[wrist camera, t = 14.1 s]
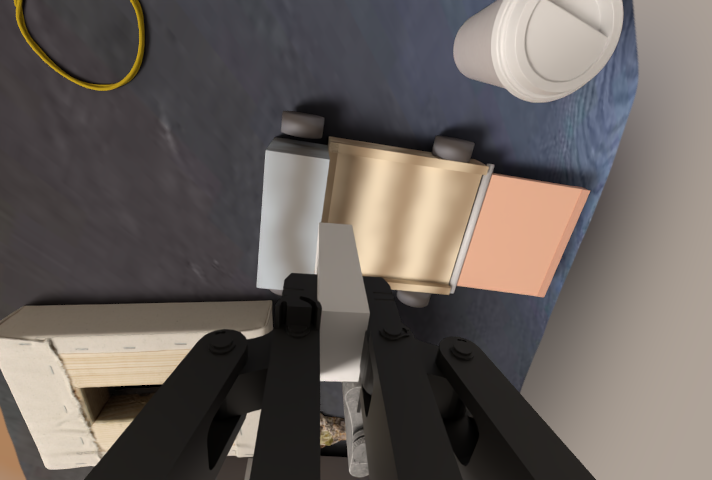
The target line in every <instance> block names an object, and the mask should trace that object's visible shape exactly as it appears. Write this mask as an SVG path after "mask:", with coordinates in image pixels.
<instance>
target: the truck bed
mask: <svg viewBox="0 0 712 480" xmlns="http://www.w3.org/2000/svg"><path fill="white" fill-rule="evenodd" d="M324 119H325V118H324V117H321V116H318V115H313V114H308V113H302V112H295V111H283V114H282V126H281V132H282V133H285V134H288V135H292V136H296V137H303V138H312V139H319V138H322V135H323V127H324ZM474 145H475V143H473V142H470V141H467V140H463V139H458V138H453V137H448V136H439V135H437V136H436V137H435V141H434V145H433V149H432V152H426V151H419V150H413V149H407V148H400V147H394V146H387V145H381V144H375V143H368V142H362V141H356V140H349V139H343V138H336V137H330V136H329V138H328V145H324V144H317V143H311V142H304V141H298V140H291V139H285V138H278V137H275V138H274V139H273V141H272V142H271V143H270V145H269V146H268V148H267V149H266V155H265V170H264V184H263V199H262V214H261V229H260V244H259V258H258V273H257V288H266V289H270V290H271V291H272V292H273V293H275V294H278V295H282V292H283V286H284V280H285V279H286V278H287V277H288V276H289V275H290V274H291V273H303V274H315V263H316V251H317V240H318V228H319V222H322V223H335V224H347V225H352V227H353V232H354V237H355V242H356V247H357V252H358V257H359V262H360V267H361V272H362V276H369V277H382V278H383V279H384V280H385V281H386V282H387V283H388V284H389V285H390V287H391V289H392V290H398V291H397V298H398V299H399V300H400V301H401V302H402V303H404V304H406V305H408V306H412V307H418V308H419V307H425V306H427V305H428V303H429V300H430V297H431V293H435V294H446V295H449V293H450V290H451V288H450V286H449V281H450V278H451V274H452V271H453V268H454V265H455V261H456V258H457V255H458V252H459V248H460V245H461V242H462V239H463V235H464V232H465V229H466V226H467V223H468V219H469V216H470V213H471V210H472V206H473V203H474V200H475V197H476V193H477V190H478V187H479V184H480V180H481V177H482V175H487V172H488V168H489V166H487V165H485V164H483V163H481V162H479V161H477V160H476V159H471V155H472V152H473V148H474Z"/></svg>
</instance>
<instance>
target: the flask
mask: <svg viewBox="0 0 712 480" xmlns="http://www.w3.org/2000/svg"><path fill="white" fill-rule="evenodd" d="M361 383H362V380H361V373H360V374H359V380H358V382H348V381H342V389H343V402H344V414H345V427H346V440H347V452H348V465H349V472H350V474H351V475H352V476H355V477H364V476H367V475H369V471H368V462H367V454H366V445H365V437H364V428H363V420H362V411H361V410H360V413H357V406H358V400H359V394H360V388H361Z"/></svg>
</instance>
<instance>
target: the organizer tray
mask: <svg viewBox="0 0 712 480" xmlns="http://www.w3.org/2000/svg"><path fill="white" fill-rule="evenodd" d="M252 461H253V457H237V456H227V457H226V459H225V461H224V463H223V465H222V467H221V469H220V471H219V473H218V475H217V477H216V479H215V480H249V479H250V473H251V467H252ZM320 480H370V479H369V475H367V476H364V477H355V476H352V475H351V474H350V472H349V465H348V457H332V456H320Z"/></svg>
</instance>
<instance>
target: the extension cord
mask: <svg viewBox="0 0 712 480" xmlns="http://www.w3.org/2000/svg"><path fill="white" fill-rule="evenodd" d="M22 1H23V0H14V3H15V6H16V19H17V23H18V26H19V28H20V30H21V33H22V34H23V36H24V38H25V39H26V41H27V42H28V44H29V45H30V46H31V47H32V49H33V50H34V51H35V52H36V53H37V54H38V55H39V57H40V58H41V59H42V60H44V61H45V62H46V63H47V64H48V65H49V66H50V67H51V68H53V69H54V70H55V71H57V72H58V73H59V74H61V75H62V76H64V77H65V78H67V79H69V80H70V81H72V82H74V83H76V84H78V85H81V86H83V87H86V88H89V89H93V90H98V91H107V90H112V89H115V88H118V87H119V86H122V85H124V84H126V83H128V82H129V81H131V80H132V79H133V78H134V76H135V75H136V74H137V72H138V70H139V68H140V66H141V63H142V59H143V54H144V43H145V32H144V17H143V12H142V8H141V6H140V3H139V1H138V0H130V1H131V3H132V5H133V7H134V9H135V12H136V15H137V19H138V26H139V49H138V54H137V58H136V61H135V63H134V66H133V68H132V69H131V71H130V73H129V74H128V75H127V76H126V77H125V78H124V79H123V80H122V81H120V82H119V83H116V84H110V85H98V84H90V83H86V82H82V81H79V80H77V79H75V78H73V77H71V76H70V75H68V74H67V73H65V72H64V71H63V70H61V69H60V68H59V67H58V66H57V65H56V64H55V63H54V62H53V61H52V60H51V59H50V58H49V57H48V56H47V55H46V54H45V53H44V52H43V51H42V50H41V48H40V47H39V46H38V45H37V44H36V43H35V42H34V41H33V39H32V38H31V37H30V35H29V33H28V31H27V28H26V25H25V22H24V16H23V11H22Z"/></svg>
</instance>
